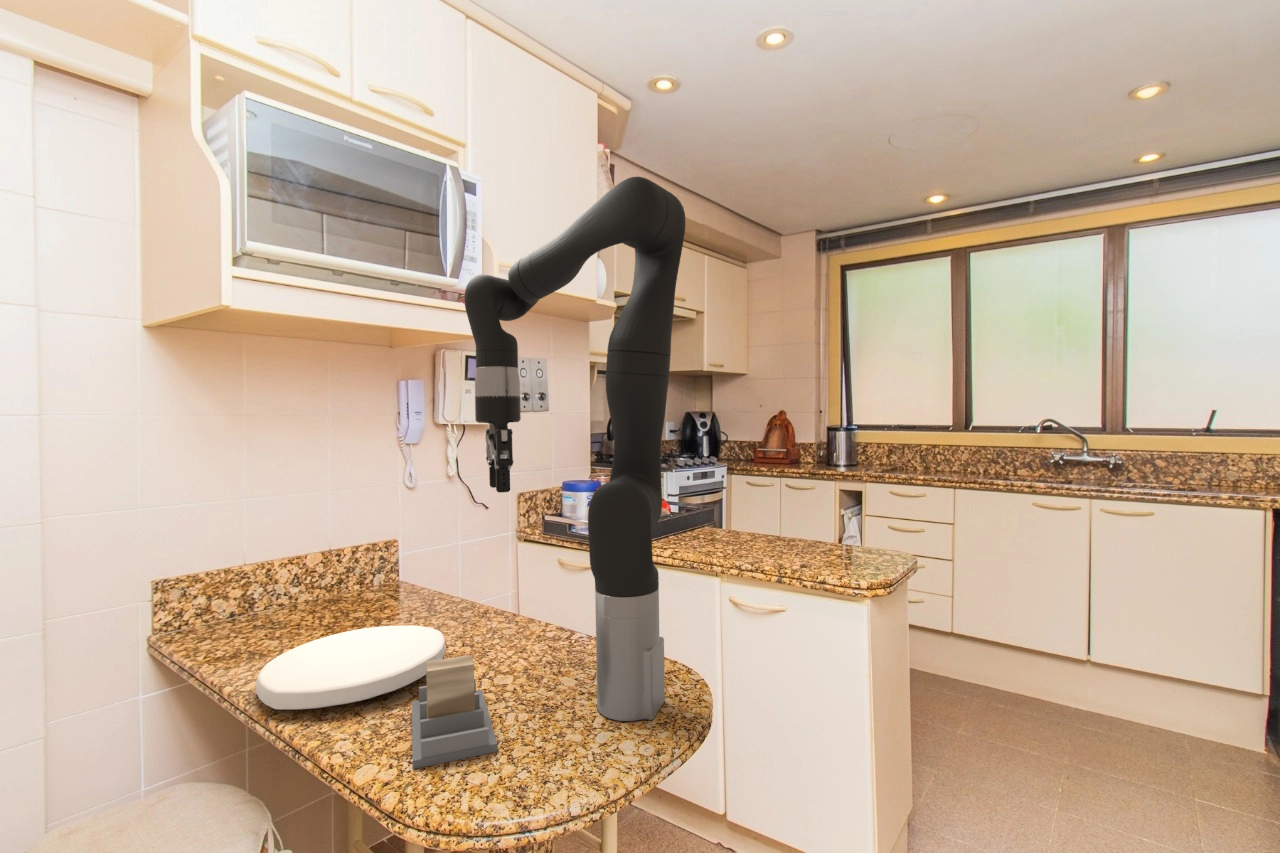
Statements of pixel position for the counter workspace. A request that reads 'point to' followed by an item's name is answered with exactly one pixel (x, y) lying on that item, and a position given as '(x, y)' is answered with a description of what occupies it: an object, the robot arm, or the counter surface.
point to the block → (450, 686)
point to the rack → (450, 733)
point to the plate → (348, 667)
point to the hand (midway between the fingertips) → (499, 489)
